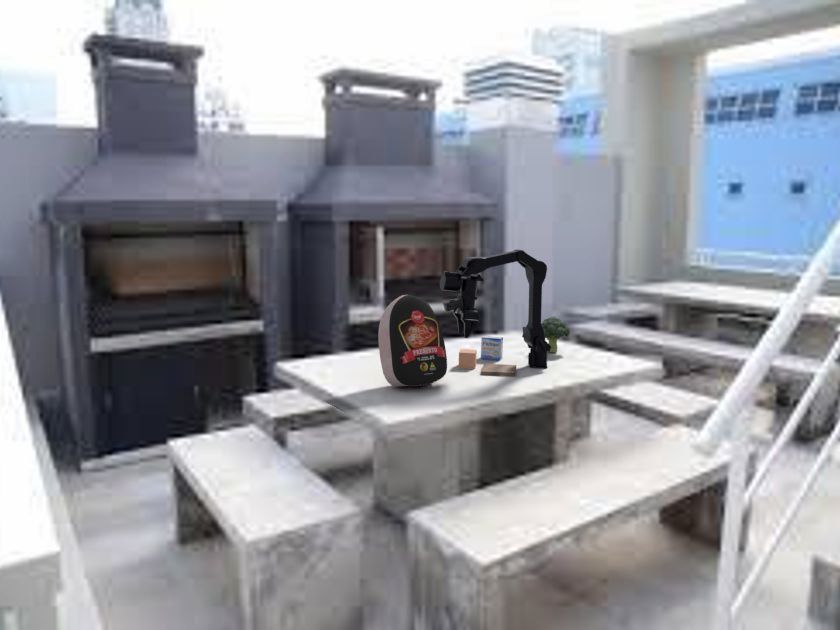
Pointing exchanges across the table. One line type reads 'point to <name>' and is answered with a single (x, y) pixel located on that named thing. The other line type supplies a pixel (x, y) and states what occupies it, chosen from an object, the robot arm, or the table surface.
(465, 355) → the terracotta cube
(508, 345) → the table surface
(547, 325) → the vegetable
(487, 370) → the walnut board
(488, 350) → the medicine box
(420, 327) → the packaged food
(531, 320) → the robot arm
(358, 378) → the table surface
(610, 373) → the table surface
